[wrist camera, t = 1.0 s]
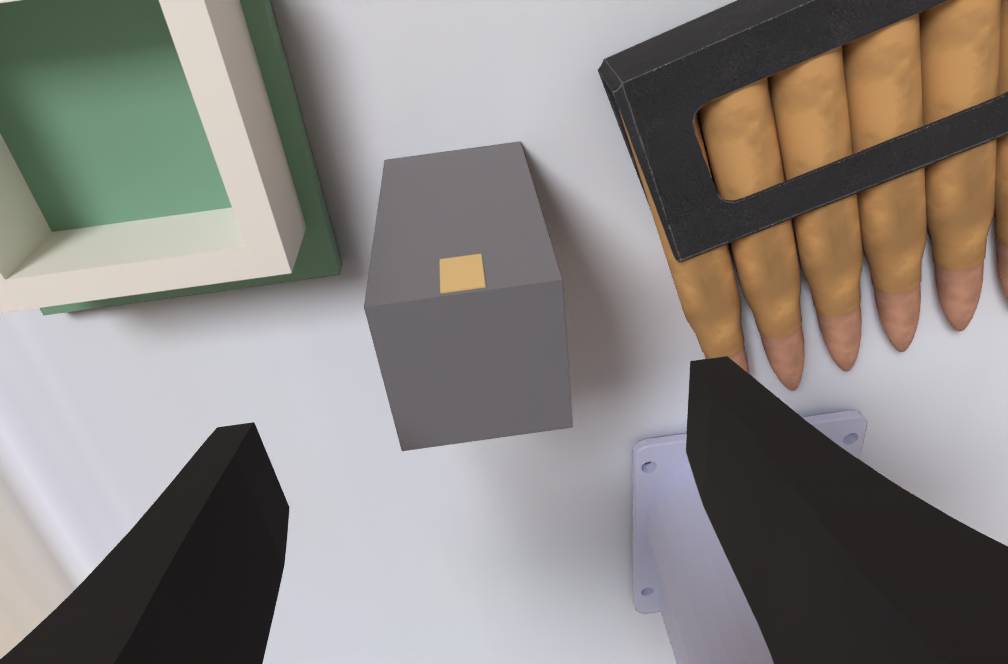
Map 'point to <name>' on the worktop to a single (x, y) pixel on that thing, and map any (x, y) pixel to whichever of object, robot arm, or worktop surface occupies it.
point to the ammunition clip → (821, 162)
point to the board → (151, 154)
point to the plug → (467, 300)
